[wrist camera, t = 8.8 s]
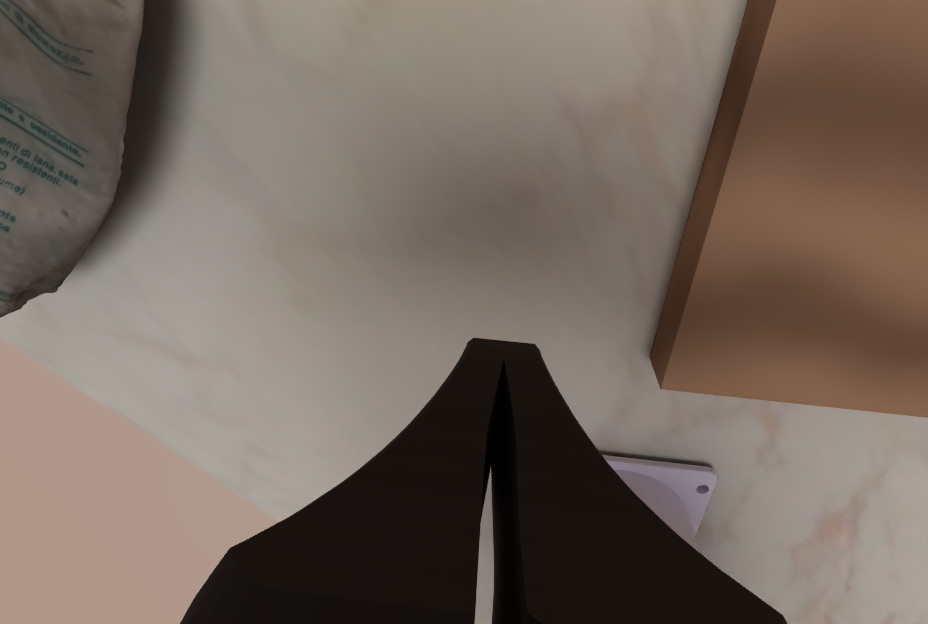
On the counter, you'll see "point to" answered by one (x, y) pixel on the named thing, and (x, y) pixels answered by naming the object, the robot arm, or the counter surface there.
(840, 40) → the deck
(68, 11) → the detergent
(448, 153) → the counter surface
